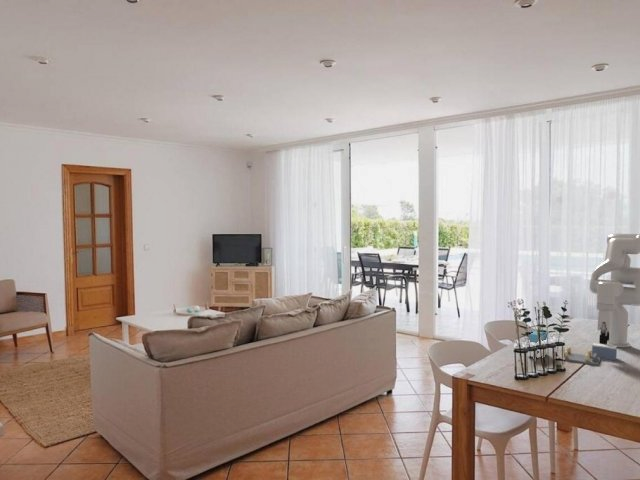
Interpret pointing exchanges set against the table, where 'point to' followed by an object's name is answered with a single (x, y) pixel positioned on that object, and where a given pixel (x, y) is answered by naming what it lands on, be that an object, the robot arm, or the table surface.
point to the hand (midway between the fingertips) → (604, 341)
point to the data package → (534, 337)
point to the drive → (605, 351)
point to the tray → (582, 357)
